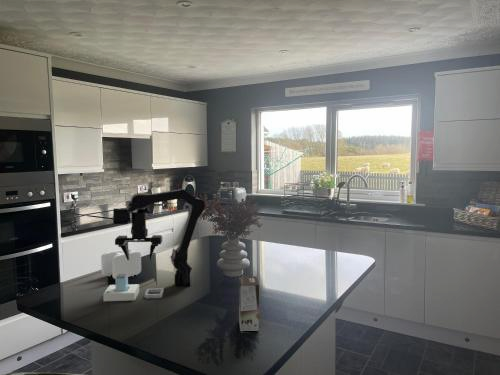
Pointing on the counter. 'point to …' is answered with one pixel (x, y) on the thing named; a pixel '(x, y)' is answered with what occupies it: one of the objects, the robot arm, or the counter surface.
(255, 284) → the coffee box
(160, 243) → the robot arm
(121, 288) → the plug
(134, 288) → the port panel
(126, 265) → the cable organizer
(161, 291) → the gray square frame
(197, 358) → the counter surface
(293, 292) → the counter surface
